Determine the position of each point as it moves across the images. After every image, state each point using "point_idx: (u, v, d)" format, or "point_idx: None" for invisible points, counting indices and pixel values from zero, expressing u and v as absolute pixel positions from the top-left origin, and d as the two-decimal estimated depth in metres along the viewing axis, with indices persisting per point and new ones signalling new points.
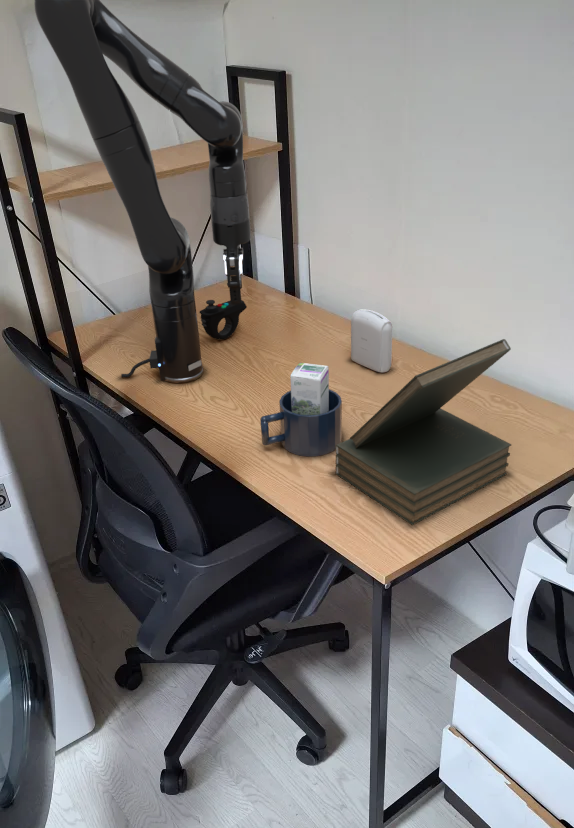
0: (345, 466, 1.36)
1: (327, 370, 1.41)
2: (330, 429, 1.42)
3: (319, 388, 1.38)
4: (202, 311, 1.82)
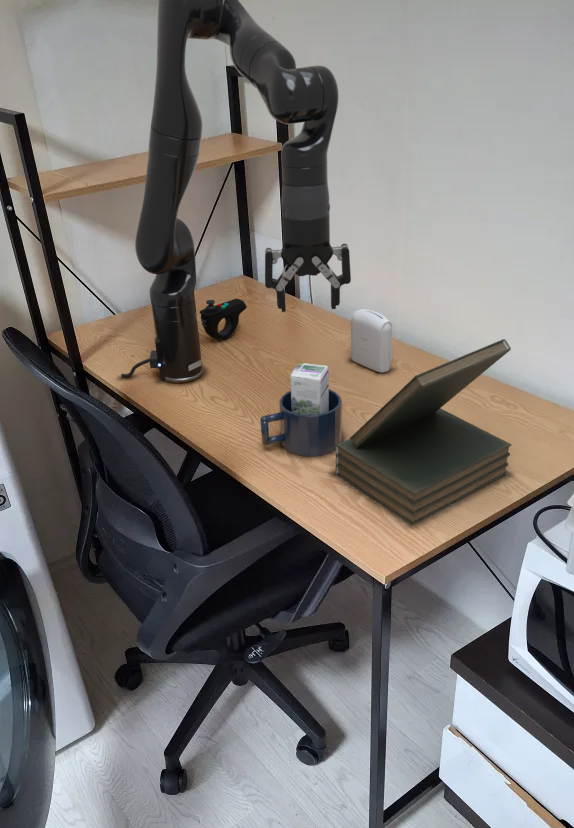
0: (345, 466, 1.36)
1: (327, 370, 1.41)
2: (330, 429, 1.42)
3: (319, 388, 1.38)
4: (202, 311, 1.82)
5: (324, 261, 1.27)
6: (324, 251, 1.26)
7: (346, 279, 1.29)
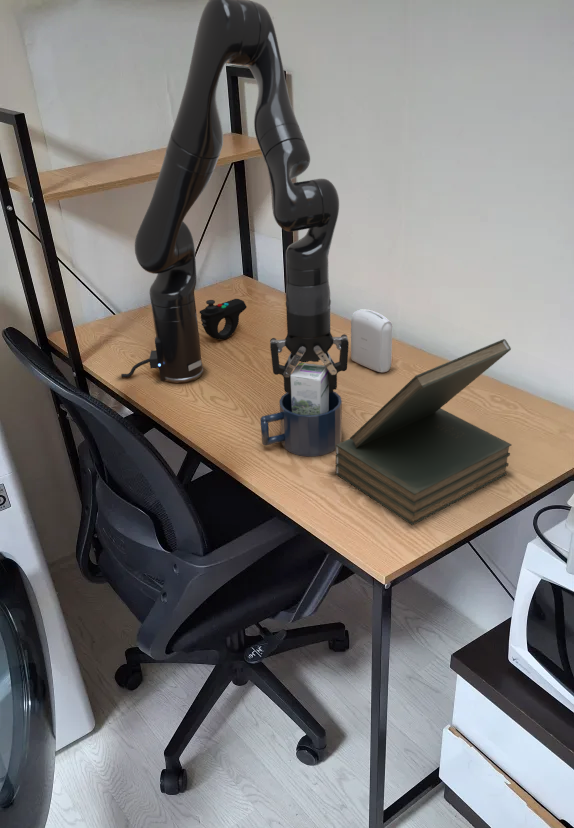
0: (345, 466, 1.36)
1: (327, 370, 1.41)
2: (330, 429, 1.42)
3: (319, 388, 1.38)
4: (202, 311, 1.82)
5: (325, 349, 1.36)
6: (325, 340, 1.35)
7: (343, 367, 1.38)
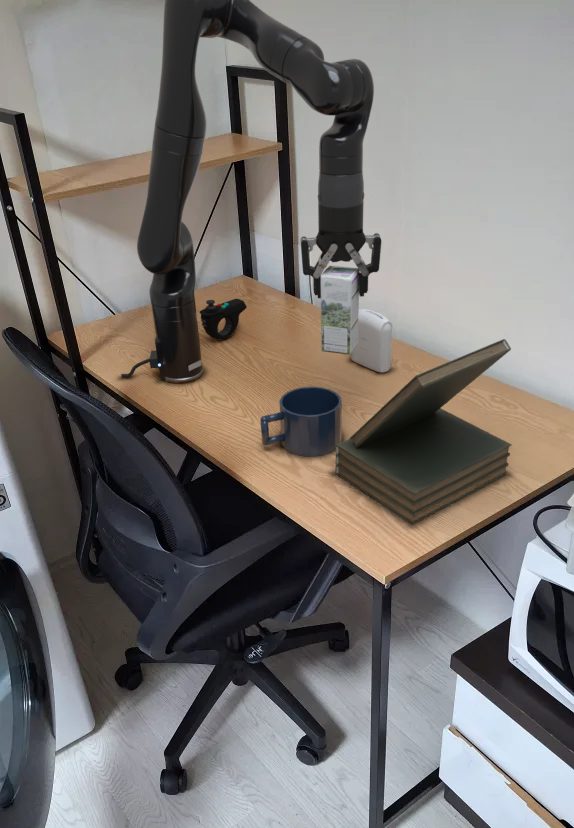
0: (345, 466, 1.36)
1: (358, 272, 1.37)
2: (330, 429, 1.42)
3: (350, 289, 1.34)
4: (202, 311, 1.82)
5: (357, 248, 1.33)
6: (358, 238, 1.32)
7: (375, 267, 1.34)
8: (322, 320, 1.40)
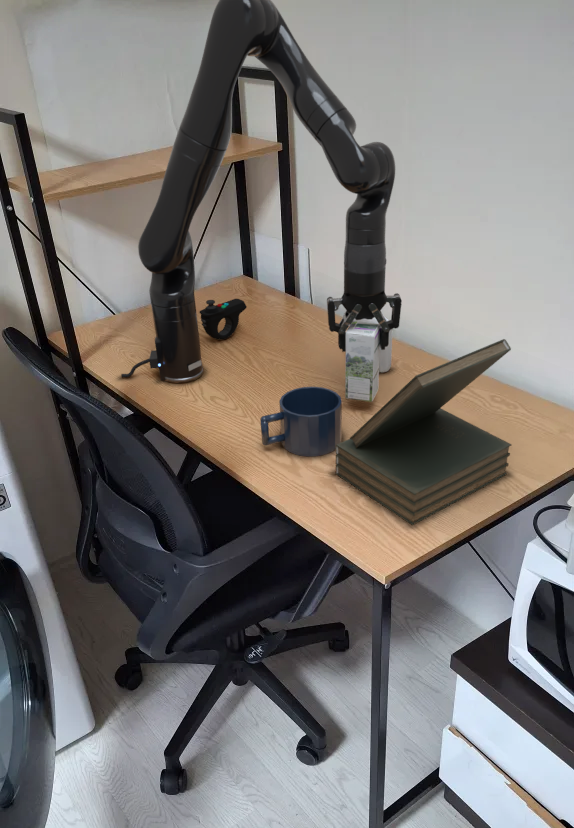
0: (345, 466, 1.36)
1: (379, 328, 1.49)
2: (330, 429, 1.42)
3: (373, 344, 1.46)
4: (202, 311, 1.82)
5: (379, 307, 1.45)
6: (380, 299, 1.44)
7: (395, 324, 1.47)
8: (346, 371, 1.52)
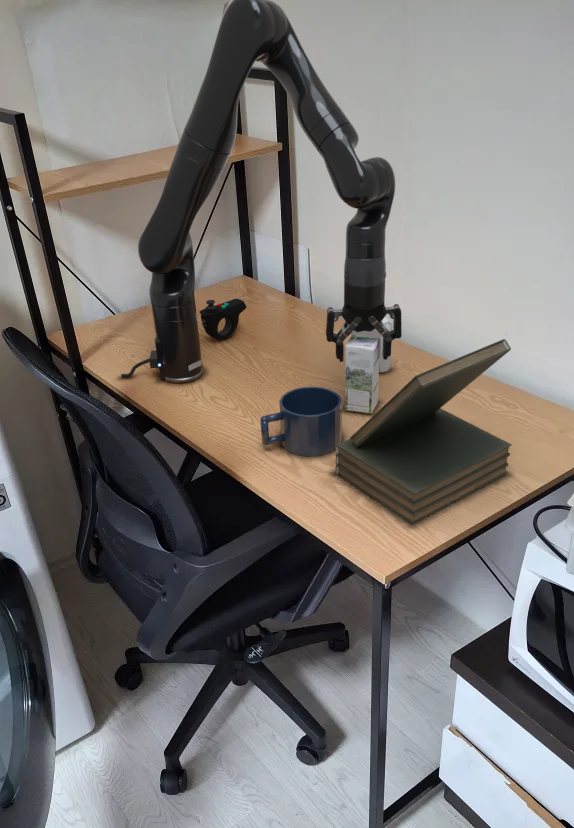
0: (345, 466, 1.36)
1: (379, 341, 1.51)
2: (330, 429, 1.42)
3: (372, 357, 1.48)
4: (202, 311, 1.82)
5: (379, 319, 1.46)
6: (380, 311, 1.45)
7: (398, 334, 1.48)
8: (346, 384, 1.53)
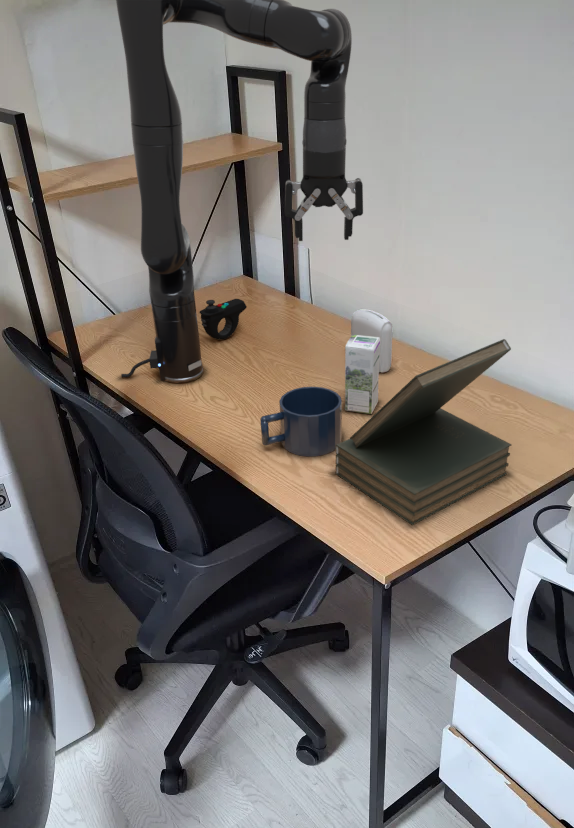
0: (345, 466, 1.36)
1: (379, 341, 1.51)
2: (330, 429, 1.42)
3: (372, 357, 1.48)
4: (202, 311, 1.82)
5: (339, 193, 1.40)
6: (340, 184, 1.39)
7: (359, 211, 1.41)
8: (346, 384, 1.53)
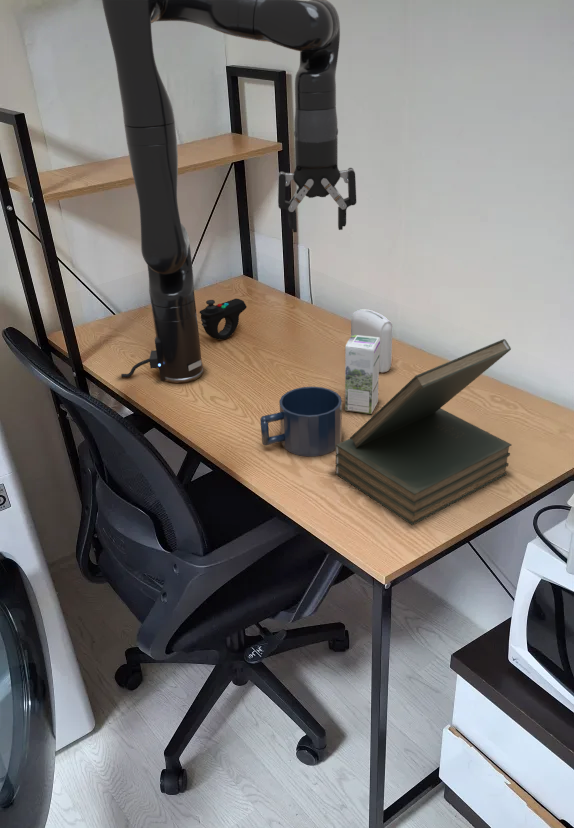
0: (345, 466, 1.36)
1: (379, 341, 1.51)
2: (330, 429, 1.42)
3: (372, 357, 1.48)
4: (202, 311, 1.82)
5: (332, 183, 1.40)
6: (333, 174, 1.39)
7: (352, 200, 1.42)
8: (346, 384, 1.53)
